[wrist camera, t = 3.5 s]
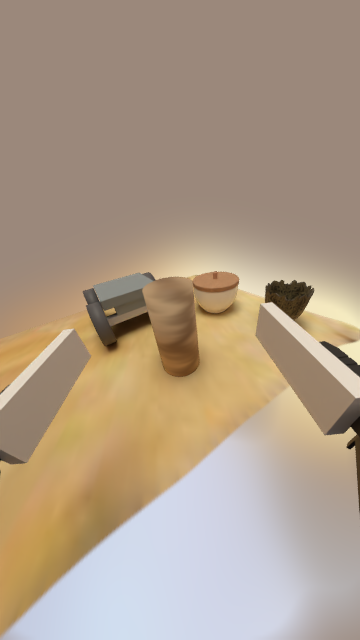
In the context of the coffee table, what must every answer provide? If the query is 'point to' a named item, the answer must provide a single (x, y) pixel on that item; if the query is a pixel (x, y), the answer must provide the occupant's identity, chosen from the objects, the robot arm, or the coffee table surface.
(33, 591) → the coffee table surface
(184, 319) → the tan wooden cylinder
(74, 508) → the coffee table surface
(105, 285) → the trolley
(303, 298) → the dark brown textured bowl
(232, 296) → the lidded jar
